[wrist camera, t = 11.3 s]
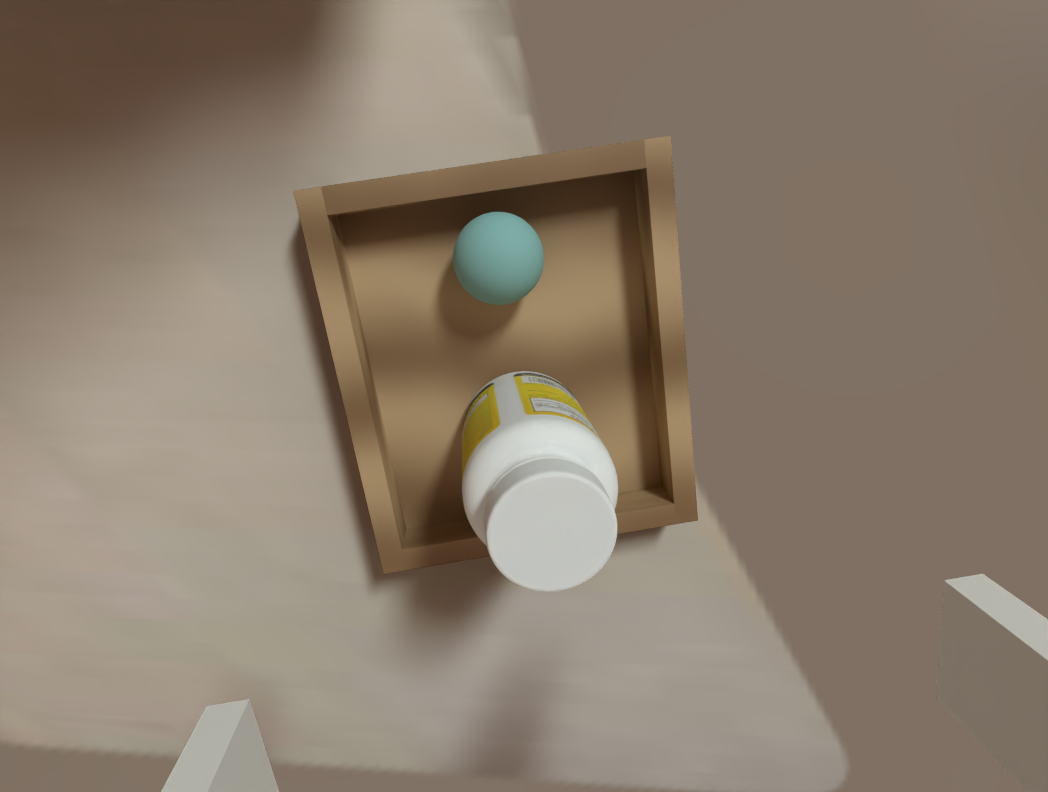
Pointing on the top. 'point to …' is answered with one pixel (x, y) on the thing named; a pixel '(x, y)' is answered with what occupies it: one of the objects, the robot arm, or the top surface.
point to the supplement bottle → (538, 482)
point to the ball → (498, 258)
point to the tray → (505, 330)
